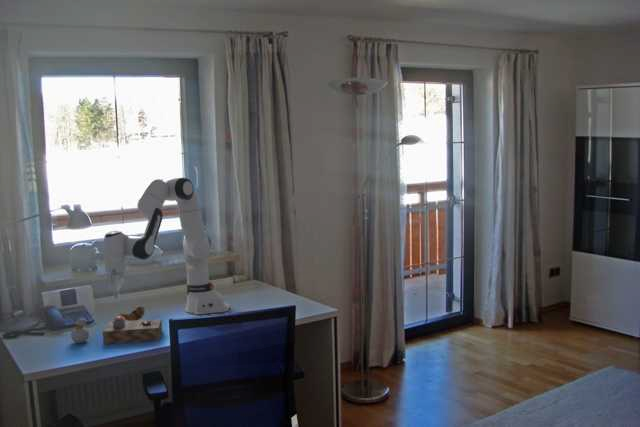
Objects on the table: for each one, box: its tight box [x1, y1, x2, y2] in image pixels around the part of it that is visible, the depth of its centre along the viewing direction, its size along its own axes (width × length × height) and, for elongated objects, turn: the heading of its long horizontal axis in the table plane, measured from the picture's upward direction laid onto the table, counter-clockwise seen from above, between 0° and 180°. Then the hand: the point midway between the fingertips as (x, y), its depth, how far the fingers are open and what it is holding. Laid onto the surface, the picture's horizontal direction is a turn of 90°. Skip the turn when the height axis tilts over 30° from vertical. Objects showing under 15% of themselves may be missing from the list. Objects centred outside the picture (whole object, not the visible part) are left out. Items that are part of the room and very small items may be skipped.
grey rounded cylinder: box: [112, 315, 126, 328], centre depth 298 cm, size 4×4×6 cm
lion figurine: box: [118, 305, 145, 321], centre depth 317 cm, size 15×5×9 cm, turn 117°
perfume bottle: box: [70, 316, 90, 344], centre depth 294 cm, size 8×10×12 cm
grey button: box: [141, 321, 152, 326], centre depth 300 cm, size 4×4×6 cm
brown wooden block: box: [102, 318, 163, 346], centre depth 299 cm, size 24×14×6 cm, turn 98°
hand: (117, 297), depth 296 cm, fingers closed
